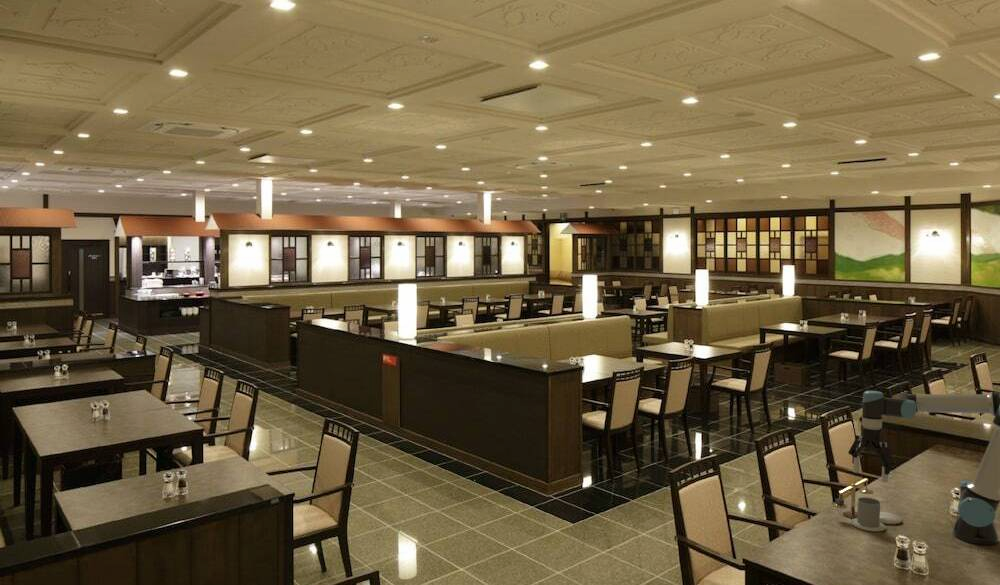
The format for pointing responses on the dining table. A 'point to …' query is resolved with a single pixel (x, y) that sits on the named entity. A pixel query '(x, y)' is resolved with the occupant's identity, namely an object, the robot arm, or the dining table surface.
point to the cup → (868, 512)
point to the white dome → (889, 518)
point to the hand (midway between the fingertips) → (870, 476)
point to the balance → (840, 502)
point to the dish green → (877, 529)
